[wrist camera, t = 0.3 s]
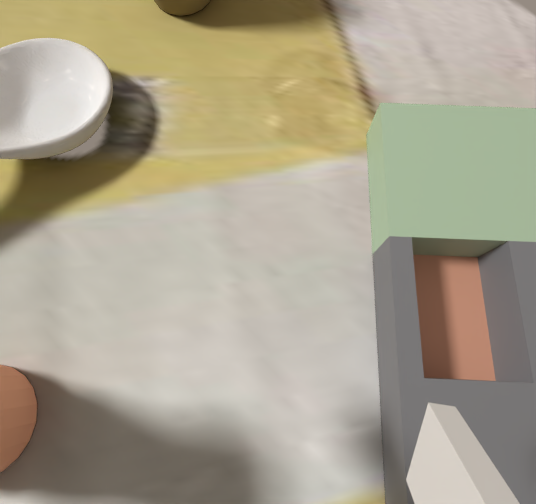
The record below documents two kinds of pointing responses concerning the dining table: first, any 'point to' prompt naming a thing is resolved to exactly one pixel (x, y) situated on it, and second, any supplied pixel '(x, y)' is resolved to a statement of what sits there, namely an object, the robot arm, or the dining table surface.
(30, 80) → the spoon rest
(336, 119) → the dining table surface
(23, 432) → the salt shaker
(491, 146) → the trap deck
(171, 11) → the squeeze bottle
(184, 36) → the dining table surface
